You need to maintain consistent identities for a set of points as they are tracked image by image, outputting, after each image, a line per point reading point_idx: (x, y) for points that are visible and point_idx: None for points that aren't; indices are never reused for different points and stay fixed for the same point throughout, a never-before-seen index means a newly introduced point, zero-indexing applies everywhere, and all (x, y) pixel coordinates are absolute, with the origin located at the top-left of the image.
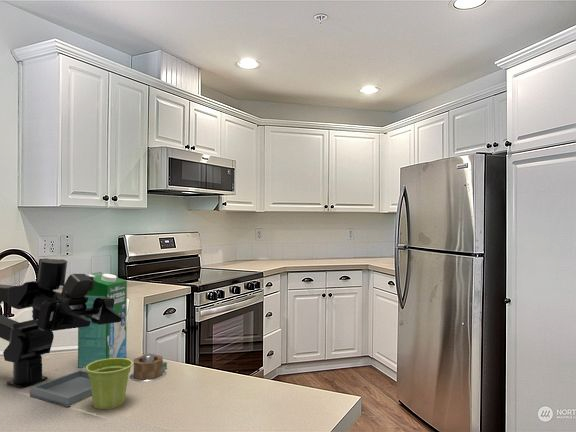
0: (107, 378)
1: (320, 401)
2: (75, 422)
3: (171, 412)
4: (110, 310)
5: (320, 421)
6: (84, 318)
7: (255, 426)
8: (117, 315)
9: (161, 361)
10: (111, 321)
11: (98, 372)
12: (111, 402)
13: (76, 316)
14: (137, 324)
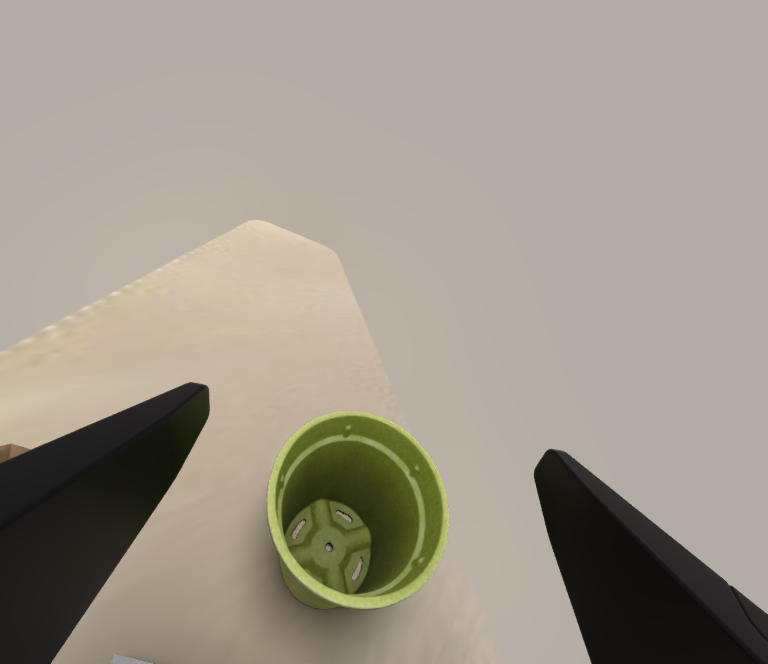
0: (411, 468)
1: (270, 240)
2: (444, 574)
3: (336, 382)
4: (9, 514)
5: (324, 252)
6: (602, 489)
7: (351, 293)
8: (174, 406)
9: (22, 450)
10: (137, 524)
11: (441, 480)
12: (366, 504)
13: (701, 566)
14: None
